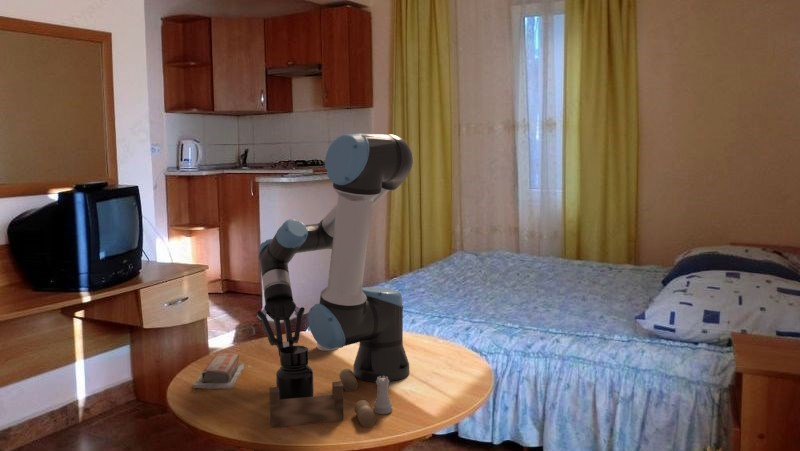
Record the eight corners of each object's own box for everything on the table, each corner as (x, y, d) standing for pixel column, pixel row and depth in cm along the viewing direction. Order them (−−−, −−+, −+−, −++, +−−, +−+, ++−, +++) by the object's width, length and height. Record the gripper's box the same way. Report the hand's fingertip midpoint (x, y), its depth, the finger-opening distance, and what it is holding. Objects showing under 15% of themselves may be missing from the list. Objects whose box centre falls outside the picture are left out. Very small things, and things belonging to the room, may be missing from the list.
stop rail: (341, 415, 155) (341, 381, 154) (343, 420, 152) (343, 385, 151) (270, 422, 151) (269, 387, 150) (270, 427, 148) (269, 392, 147)
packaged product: (209, 351, 189) (245, 350, 190) (210, 368, 190) (245, 367, 190) (191, 372, 172) (231, 371, 172) (192, 391, 172) (232, 390, 172)
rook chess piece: (377, 416, 154) (377, 382, 153) (370, 409, 158) (369, 376, 157) (395, 413, 156) (395, 379, 155) (388, 406, 160) (387, 373, 159)
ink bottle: (301, 387, 173) (300, 341, 171) (322, 396, 166) (321, 349, 165) (268, 397, 166) (267, 349, 165) (288, 407, 160) (287, 357, 158)
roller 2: (354, 415, 155) (354, 400, 154) (369, 414, 155) (369, 399, 155) (359, 428, 148) (359, 412, 147) (375, 426, 149) (375, 410, 148)
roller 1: (340, 383, 176) (338, 370, 176) (353, 380, 177) (352, 367, 177) (344, 392, 170) (342, 379, 169) (358, 389, 170) (356, 376, 170)
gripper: (299, 295, 192) (312, 371, 178) (252, 299, 188) (261, 376, 174) (302, 280, 186) (315, 357, 172) (254, 283, 182) (263, 362, 168)
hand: (288, 366), depth 173 cm, fingers closed
